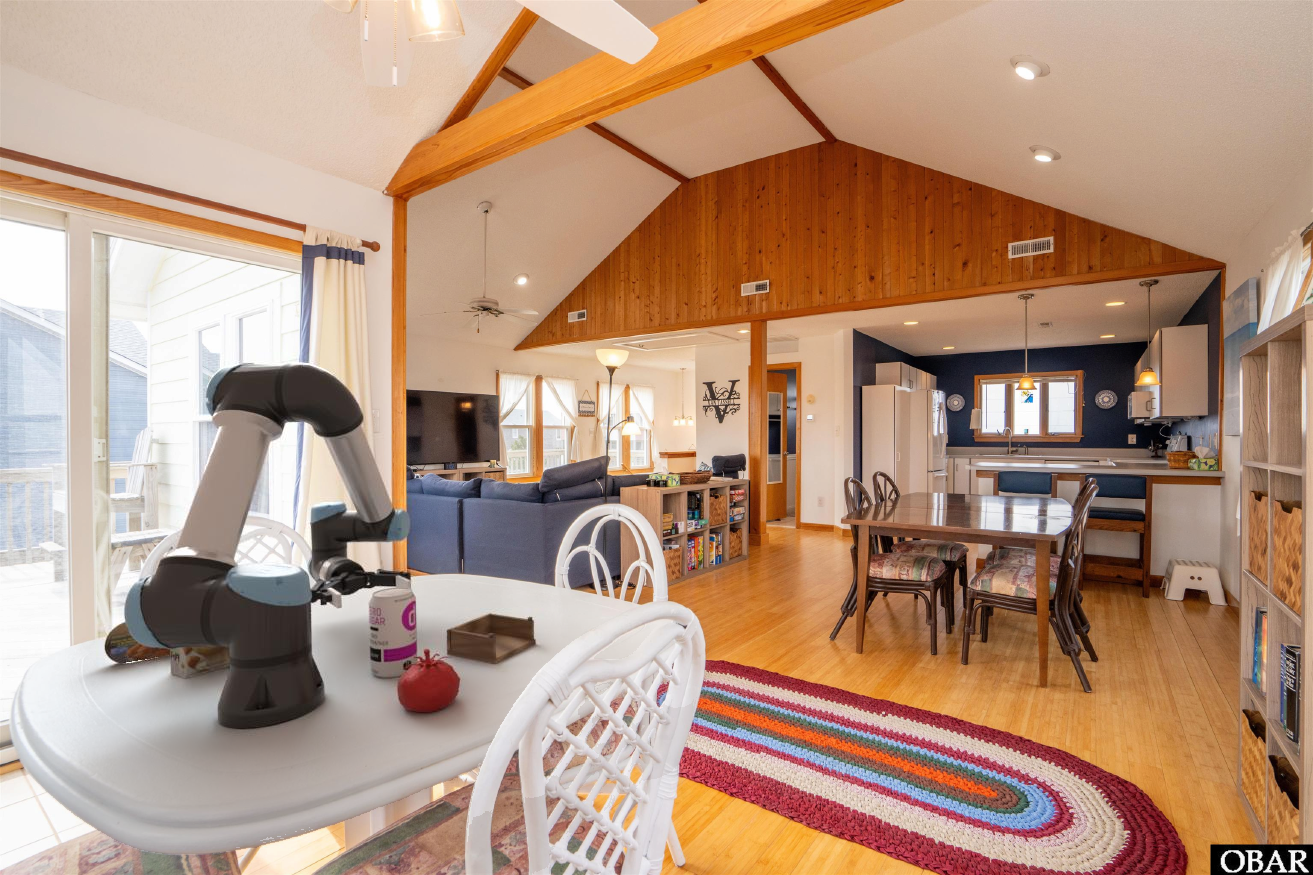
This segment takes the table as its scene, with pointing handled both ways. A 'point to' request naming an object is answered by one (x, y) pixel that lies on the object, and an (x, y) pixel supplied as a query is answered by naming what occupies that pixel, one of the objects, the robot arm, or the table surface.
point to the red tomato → (428, 684)
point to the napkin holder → (490, 638)
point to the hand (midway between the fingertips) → (375, 594)
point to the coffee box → (198, 660)
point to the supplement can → (392, 631)
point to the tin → (129, 647)
